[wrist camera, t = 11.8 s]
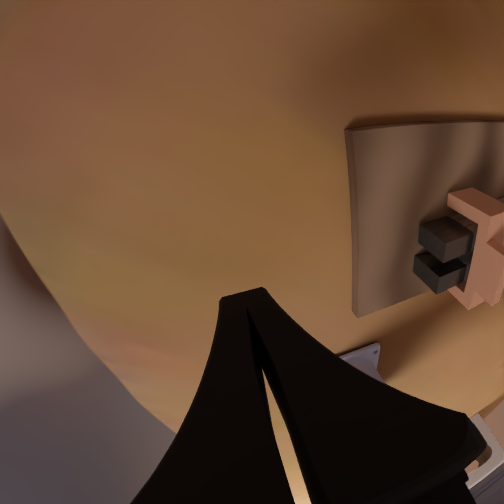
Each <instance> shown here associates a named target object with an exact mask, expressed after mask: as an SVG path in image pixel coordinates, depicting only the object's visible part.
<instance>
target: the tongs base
mask: <svg viewBox="0 0 504 504" xmlns="http://www.w3.org/2000/svg"><path fill="white" fill-rule="evenodd" d="M473 252H474V250H473V251H470V252H468V253H466V254H463V255H461V256H459V257H456V258H454V259H452V260H449V261H447V262H445V263H442V262H441V261H440V260H439V259H438V258H436V257H435V256H434V255H433V254H431V253H430V252H429V251H426V252H423V253H420V254H417V255H414V263H413V271H412V272H413V273H414V274H415V275H416V276H418V277H419V278H420V279H421V280H422V281H423V282H424V283H425V284H426V285H427V286H428V287H429V288H430V289H431V290H432V291H433V292H434V293H435V294H438V293H441V292H443V291H445V290H447V289H449V288H452V287H454V286H456V285H458V284H460V283H462V282H464V281H466V280H467V279H468V275H469V270H470V266H471V261H472V257H473Z"/></svg>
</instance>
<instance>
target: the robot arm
mask: <svg viewBox="0 0 504 504" xmlns="http://www.w3.org/2000/svg"><path fill="white" fill-rule="evenodd" d="M380 348H381V346H380V344H379V343H374V344H371V345H369V346H366V347H363V348H361V349H358V350H355V351H353V352H350V353H347V354H345V355H342V356H339V357H338V356H337V355H336V354H334V353H333V352H331V351H330V350H329V349H327V348H326V347H325V346H323V345H322V344H321V343H320V342H318V341H317V340H316V339H315V338H313V337H312V336H311V335H310V334H309V333H307V332H306V331H305V330H304V329H303V328H302V327H301V326H300V325H298V324H297V323H296V322H295V321H294V320H293V319H292V318H291V317H290V316H289V315H288V314H287V313H286V312H285V311H284V310H283V309H282V308H281V307H280V306H279V305H278V304H277V302H276V301H275V300H274V299H273V298H272V297H271V295H270V294H269V293H268V291H267V290H266V289H265V288H263V287H260V288H256V289H252V290H248V291H244V292H240V293H237V294H233V295H229V296H225V297H222V298H221V299H220V301H219V313H218V320H217V325H216V330H215V335H214V339H213V343H212V347H211V351H210V354H209V358H208V361H207V364H206V367H205V370H204V373H203V376H202V379H201V382H200V385H199V387H198V390H197V392H196V395H195V397H194V399H193V402H192V404H191V406H190V409H189V411H188V413H187V415H186V417H185V419H184V421H183V423H182V425H181V427H180V429H179V431H178V433H177V435H176V437H175V439H174V440H173V442H172V444H171V445H170V447H169V449H168V450H167V452H166V453H165V455H164V457H163V459H162V460H161V462H160V463H159V465H158V466H157V468H156V470H155V471H154V473H153V474H152V475H151V477H150V478H149V480H148V481H147V482H146V484H145V485H144V486H143V488H142V489H141V490H140V491H139V493H138V494H137V496H136V497H135V498H134V499H133V501H132V502H131V503H130V504H295V502H294V499H293V496H292V493H291V489H290V486H289V483H288V480H287V476H286V473H285V470H284V466H283V463H282V460H281V456H280V453H279V450H278V446H277V443H276V439H275V435H274V431H273V427H272V421H271V416H270V410H269V405H268V399H267V394H266V388H265V383H264V377H263V372H262V369H263V371H264V374H265V376H266V379H267V381H268V383H269V386H270V388H271V391H272V393H273V396H274V398H275V400H276V403H277V405H278V407H279V410H280V412H281V415H282V417H283V419H284V422H285V424H286V427H287V429H288V432H289V435H290V438H291V441H292V444H293V447H294V451H295V454H296V457H297V460H298V463H299V466H300V469H301V473H302V476H303V479H304V482H305V485H306V488H307V491H308V495H309V498H310V501H311V504H504V462H503V463H502V464H501V465H500V466H499V467H497V468H496V469H495V470H494V471H493V472H491V473H490V474H489V475H488V476H486V477H485V478H484V479H482V480H481V481H480V482H478V483H477V484H476V485H474V486H473V487H472V488H470V489H468V487H467V485H466V483H465V482H467V481H468V480H469V477H468V475H467V473H466V472H465V470H464V469H465V468H466V467H467V466H468V465H469V464H471V462H473V461H474V460H475V459H476V458H477V457H478V456H479V455H481V454H482V453H483V452H484V450H485V449H486V447H487V442H486V440H485V439H484V437H483V436H482V434H481V433H480V431H479V430H478V428H477V427H476V426H475V424H474V423H473V422H472V421H471V420H470V419H469V418H468V417H467V415H466V414H465V413H461V412H457V411H454V410H450V409H447V408H444V407H441V406H438V405H435V404H432V403H429V402H426V401H423V400H421V399H418V398H416V397H413V396H411V395H408V394H406V393H403V392H401V391H399V390H397V389H395V388H393V387H391V386H389V385H387V384H385V383H384V381H383V379H382V378H381V376H380V374H379V373H378V371H377V365H378V360H379V354H380Z"/></svg>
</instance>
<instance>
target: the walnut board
mask: <svg viewBox="0 0 504 504" xmlns="http://www.w3.org/2000/svg"><path fill="white" fill-rule="evenodd" d="M344 132H345V141H346V151H347V161H348V173H349V187H350V204H351V225H352V311H353V313H354V314H355V315H356V317H357V318H359V317H362V316H364V315H367V314H370V313H373V312H375V311H378V310H381V309H383V308H386V307H389V306H391V305H394V304H396V303H399V302H401V301H404V300H407V299H409V298H411V297H414V296H416V295H419V294H421V293H424V292H426V291H428V290H431V289H430V288H429V287H428V286H427V285H426V284H425V283H424V282H423V281H422V280H421V279H420V278H419V277H418V276H416V275H415V274H414V273H413V272H412V271H413V263H414V255H417V254H420V253H423V252H426V251H428V250H426V249H425V248H424V247H423V246H421V245H420V244H419V243H418V237H419V224H423V223H426V222H429V221H432V220H436V219H439V218H442V217H445V216H448V215H451V214H455V213H458V212H457V211H455V210H454V209H452V208H450V207H448V206H447V200H448V193H450V192H455V191H459V190H463V189H467V188H471V187H472V188H475V189H477V190H479V191H481V192H482V193H484V194H486V195H488V196H490V197H492V198H494V199H496V200H498V199H501V198H504V121H503V120H451V121H427V122H411V123H398V124H387V125H377V126H367V127H359V128H351V129H344Z"/></svg>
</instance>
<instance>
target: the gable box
mask: <svg viewBox="0 0 504 504" xmlns="http://www.w3.org/2000/svg"><path fill="white" fill-rule="evenodd" d="M470 420H471V421H472V422H473V423H474V424H475V426H476V427H477V428H478V430H479V431H480V433H481V434H482V436H483V437H484V439H485V440H486V442H487V447H486V449H485V450H484V452H483V453H482V454H481V455H479V456H478V457H477V458H476V459H475V460H477V461H478V462H479V466H478V468H477V469H475V470H473V471H472V472H470V473H468V474H467V475H468V477H469V480H468V481H467V482H465V483H466V485H467V487H468V489H470V488H472V487H473V486H474V485H476V484H477V483H478V482H480V481H481V480H482V479H484V478H485V477H486V476H488V475H489V474H490V473H491V472H493V471H494V470H495V469H496V468H497V467H499V466H500V465H501V464H502V463H503V462H504V450H503V449H502V447H501V446H500V444H499V443H498V441H497V439H496V438H495V436H494V435H493V434H492V432H491V431H490V429H489V428H488V426H487V425H486V423H485V422H484V420H483V419H482V417H481V416H480V414H479V413H476V414H475V415H474V416H472V417H471V418H470Z"/></svg>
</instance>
